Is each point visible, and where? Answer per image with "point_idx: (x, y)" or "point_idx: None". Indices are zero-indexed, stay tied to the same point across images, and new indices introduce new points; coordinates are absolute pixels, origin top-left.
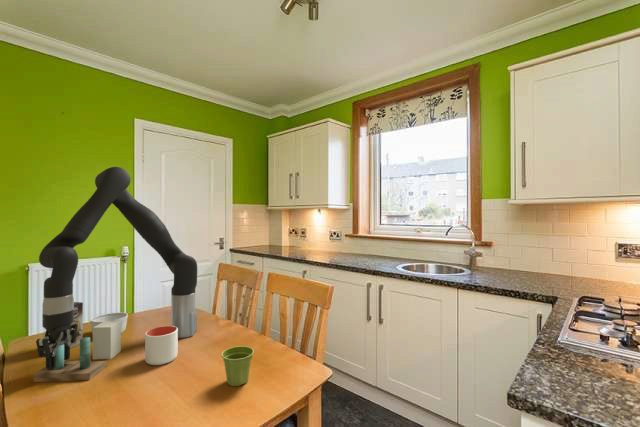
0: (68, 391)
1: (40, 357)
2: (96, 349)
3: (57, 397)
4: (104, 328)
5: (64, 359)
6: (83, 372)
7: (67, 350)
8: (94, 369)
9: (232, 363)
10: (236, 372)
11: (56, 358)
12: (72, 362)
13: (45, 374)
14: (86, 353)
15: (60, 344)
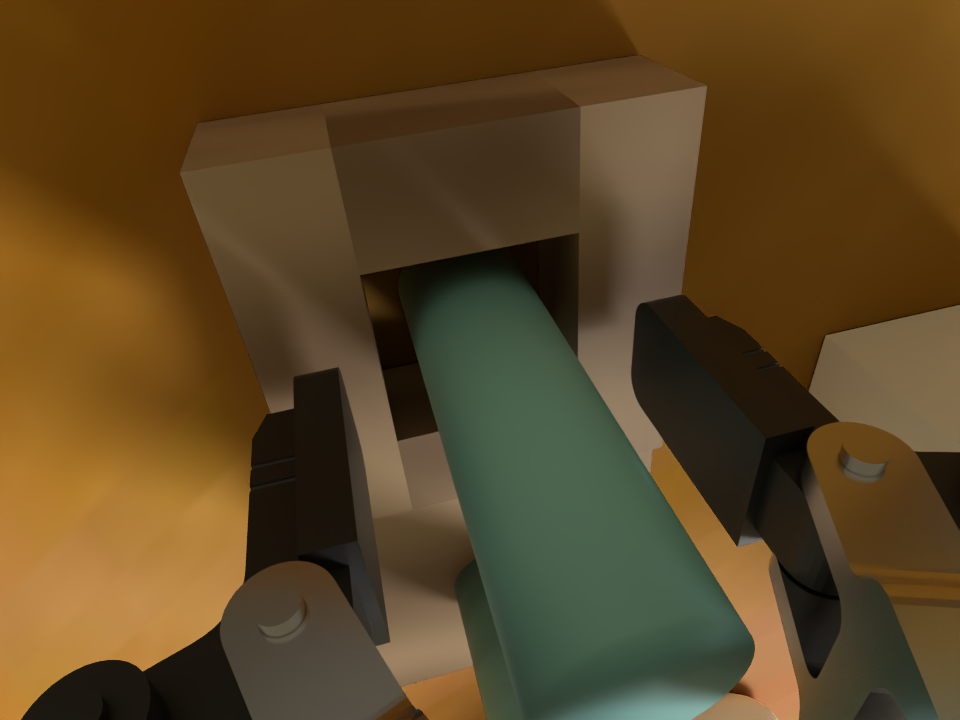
0: (155, 650)
1: (62, 699)
2: None
3: (35, 663)
4: None
5: (637, 350)
6: (387, 649)
7: (715, 503)
8: (457, 668)
9: None
10: None
11: (458, 499)
12: (617, 402)
13: (252, 350)
14: None
15: (724, 660)
